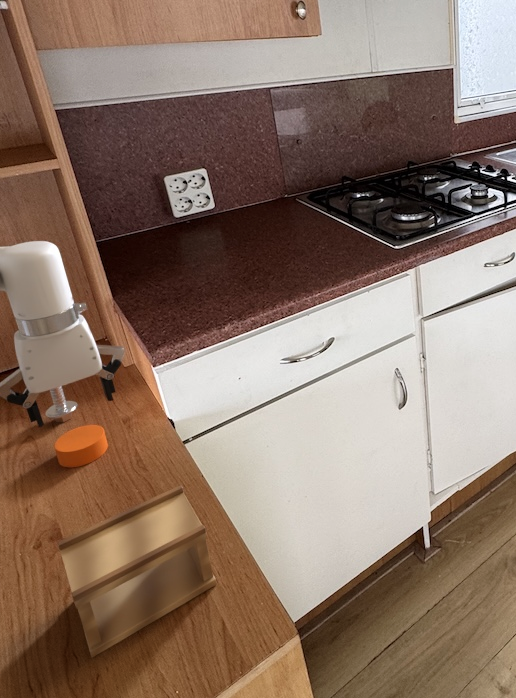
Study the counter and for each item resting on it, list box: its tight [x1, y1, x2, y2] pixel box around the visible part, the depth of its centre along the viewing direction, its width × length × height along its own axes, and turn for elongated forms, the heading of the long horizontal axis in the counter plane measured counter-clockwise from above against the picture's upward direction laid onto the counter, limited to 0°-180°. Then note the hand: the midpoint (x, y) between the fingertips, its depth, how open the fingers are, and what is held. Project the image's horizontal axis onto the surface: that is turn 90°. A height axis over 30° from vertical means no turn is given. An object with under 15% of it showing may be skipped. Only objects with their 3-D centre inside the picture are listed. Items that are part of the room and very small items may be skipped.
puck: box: [53, 424, 109, 468], centre depth 99 cm, size 7×7×3 cm
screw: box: [45, 386, 79, 423], centre depth 106 cm, size 13×5×5 cm
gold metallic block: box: [57, 484, 218, 658], centre depth 74 cm, size 14×10×10 cm
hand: (75, 409), depth 97 cm, fingers open, 9 cm apart
